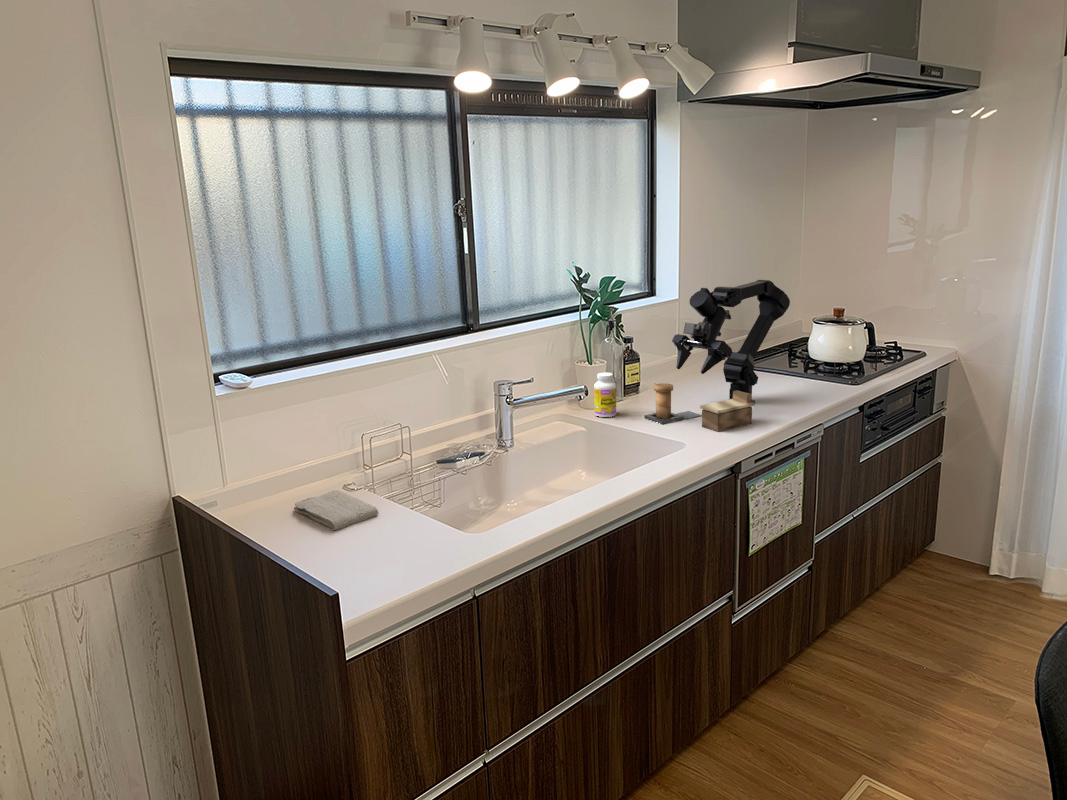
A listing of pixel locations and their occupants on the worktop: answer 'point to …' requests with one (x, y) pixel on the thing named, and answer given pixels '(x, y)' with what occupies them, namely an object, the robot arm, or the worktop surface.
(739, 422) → the toolbox
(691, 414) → the felt pad
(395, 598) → the worktop surface
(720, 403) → the lid
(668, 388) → the key peg
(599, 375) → the supplement bottle
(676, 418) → the keeper
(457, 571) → the worktop surface
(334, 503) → the washcloth
